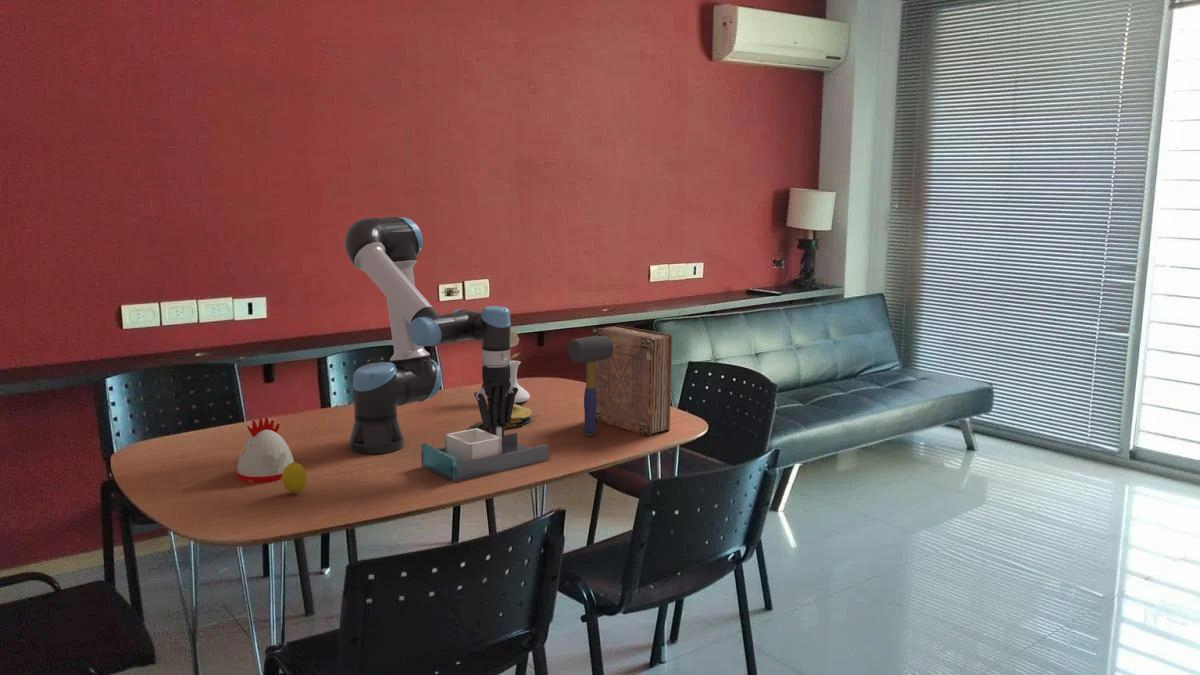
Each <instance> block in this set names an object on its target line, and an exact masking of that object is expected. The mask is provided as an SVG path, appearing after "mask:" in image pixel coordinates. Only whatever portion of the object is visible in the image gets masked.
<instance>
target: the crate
mask: <svg viewBox="0 0 1200 675" xmlns="http://www.w3.org/2000/svg"><path fill="white" fill-rule="evenodd" d="M444 445H445V446H444V447H445V453H447V454H449V455H451V456H453V457H455V458H457V464H459V463H464V462H468V461H473V460H477V459H482V458H486V457H491V456H495V455H500V454H502V438H500V437H498V436H495V435H493V434H491V433H489V432H488V431H487V430H481V429H478V428H475V429H470V430H466V429H465V430H460V431H455V432H449V433H445V434H444Z"/></svg>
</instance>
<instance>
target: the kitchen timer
mask: <svg viewBox="0 0 1200 675" xmlns="http://www.w3.org/2000/svg"><path fill="white" fill-rule="evenodd" d="M274 422H275V421H274V419H271V421H270V423H269V418H268V417H267V416H265V417H264V423H263V418H261V417H260V418H259V420H258V425H257V423H256V421H255V420H254V419H252V422H251V424H252V426H248V425H247V426H246V428H247V430H248V432H249V434H250V437H249V438H248V439H247V440H246V442H245V444H244V445H243V448H242V449H241V451H240V454H239V458H238V461H237V470H236V473H237V479H238V480H239V479H240V481H241V482H244V481H245V483H249V482H254V483H253V484H256V483H255V482H267V483H273V482H272V481H274V482H278V481H277V480H279V481H282V480H281V479H282V476H283V471H284V469H285V467H286V466H288V465H289V464H291V463H292V462H295V461H294V460H295V459H294V457H293V454H292V450H291V448H290V447H289V445H288V443H287V442H286V441H285V439H284V438H283V436H281V435H280V434H278V431H279V428H280V423H276V425H275V424H274ZM274 425H275V427H274ZM251 427H252V428H251Z"/></svg>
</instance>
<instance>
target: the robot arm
mask: <svg viewBox="0 0 1200 675" xmlns="http://www.w3.org/2000/svg"><path fill="white" fill-rule="evenodd" d="M423 242H424V241H423V236H422V232H421V229H420V228H419V225H418V224H417V223H415V222H414V221H413V219H410V218H408V217H402V216H401V217H400V216H399V217H398V216H391V217H389V216H388V217H365V218H360V219H358V220H357V221H354V222H353V224H351V225H350V227H349V228H348V229H347V231H346V234H345V237H344V249H345V252H346V253H345V254H346V255H347V257H348V259H349V261H350V262H351V263H352V264H353V265H354V266H355V268H356V269H357V270H359V271H361V272H362V271H363V272H364V273H365V274H366V275H367V276H368V277H369V278H370V280H371V281H372V282H373V283H374V284H375V285H376V287H377V288H378V289H379V290H380V291H381V292H382V294H384V296H386V303H387V309H388V310H387V311H388V317H389V325H390V331H391V332H390V333H391V338H392V339H391V340H392V345H393V346H392V347H393V355H392V356H391V357H390V359H389V361H379V362H372V363H368V364H365V365H361V366H360V367H358V368H356V370H355V371H354V373H353V382H352V388H353V404H354V405H353V407H354V408H353V409H354V422H353V423H354V424H353V426H352V429H351V432H350V437H349V439H348V445H349V446H348V447H349V448H348V449H349V450H351V452H354V453H357V454H365V455H366V454H367V455H377V454H387V453H392V452H396V451H398V450H401V449H403V447H404V446H405V436H404V434H403V431H402V429H401V425H400V423H399V421H398V407H401V406H406V405H409V404H413V403H416V402H417V403H419V402H424V401H426V400H429V399H432V398H434V397H435V396H436V394H438V391H440V389H441V387H442V379H443V375H442V370H441V367H440V366H439V365H438V363H437V361H436V360H433V359H432V357H431V353H430V352H428V351H427V350H426V349H425V347H428V346H429V347H432V346H437V345H440V344H445V343H453V342H458V341H463V340H475V341H481V364H483V365H482V367H481V377H482V382H483V383H482V384H481V389H480V390H479V391H476V392H474V394H473V395H474V397H475V399H476V401H477V404H478V408H479V414H480V417H481V422H482V423H483V425H485V426H488V427H489V430H488V431H489V432H488V433H491V434H493V435H495V436H498V437H500V438H502V437H504V434H505V429H504V427H506V423H510V420H511V415H512V410H513V405H514V400H515V396H516V394H517V392H518V388H516V387H513V386H512V385H511V382H510V365H508V364H509V363H510V359H511V347H510V330H511V325H512V322H511V311H510V309H509V308H508V307H505V306H499V305H497V306H496V305H490V306H484V307H483V308H482V309H481V312H479V311H474V310H469V309H466V308H464V309H460V308H459V309H454V310H453V311H452V312H450V313H445V314H444V313H443V314H440V313H439V312H438V311H437V310H436V309H435V308H434V306H432V304H430V302H429V301H428V299H427V298H425V296H424V295H423V294H422V293H421V292H420V291H419V289H418V288H416V283H415V276H414V266H415V265H416V264H417V262H418V260H417V258H418V257H417V256H418V255H419V254H420V253H421V252H422V247H423V245H424V244H423ZM506 393H507V395H506Z"/></svg>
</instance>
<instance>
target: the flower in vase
mask: <svg viewBox="0 0 1200 675" xmlns="http://www.w3.org/2000/svg"><path fill="white" fill-rule="evenodd" d="M518 336H519V335H518V333H516V332H515V331H512V329H510V348H512V347H513V348H514V347H515V346H518V345H519V341H520V337H518ZM520 354H521V352H518V353H515V354H513V355H511V356H510V363H509V364H508V365H510V379H509V380H510V382H511V385H512V386H513V387H516V388H518V392H517V394H516V396H515V400H514V403H516V404H519V403H522V402H526V401H528V400H529V399H531V398H530V397H531V396H530V393H529V392H528V391H527V390H526V389H525V388H523V387H522V386H521V385H519V383H518V379H517V375H518V368H519V366H520V364H521V361H519V360H513V359H514V358H516V357H518V356H519V355H520ZM506 395H507V393H506Z"/></svg>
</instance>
